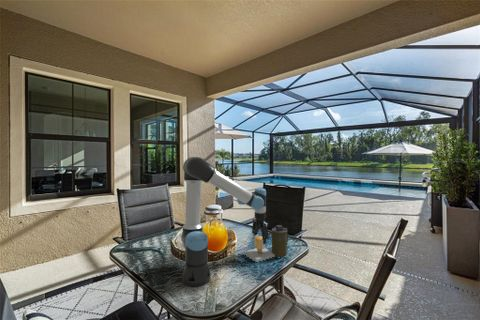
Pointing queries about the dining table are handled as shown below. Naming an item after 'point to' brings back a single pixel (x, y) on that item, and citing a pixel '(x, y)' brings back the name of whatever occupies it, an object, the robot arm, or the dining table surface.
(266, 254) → the board
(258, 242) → the tan wooden cylinder
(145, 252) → the dining table surface
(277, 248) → the canister
